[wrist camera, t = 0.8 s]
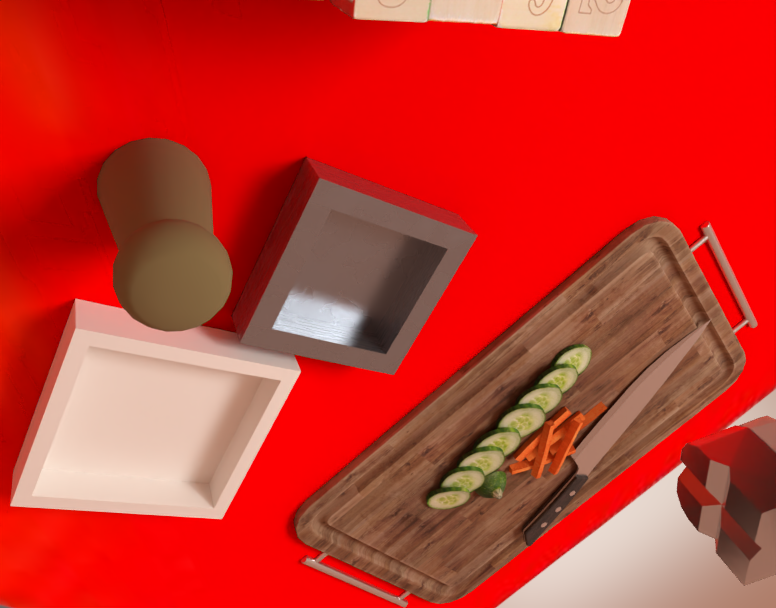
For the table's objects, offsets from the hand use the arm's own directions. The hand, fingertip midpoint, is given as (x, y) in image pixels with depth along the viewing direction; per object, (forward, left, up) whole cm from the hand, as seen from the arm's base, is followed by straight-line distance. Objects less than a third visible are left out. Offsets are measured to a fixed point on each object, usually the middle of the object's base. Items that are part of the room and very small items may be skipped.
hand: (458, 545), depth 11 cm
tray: (+6, -23, -31) cm, 40 cm away
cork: (+1, -8, -32) cm, 33 cm away
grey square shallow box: (+14, -9, -31) cm, 36 cm away
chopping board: (+40, -21, -32) cm, 55 cm away
